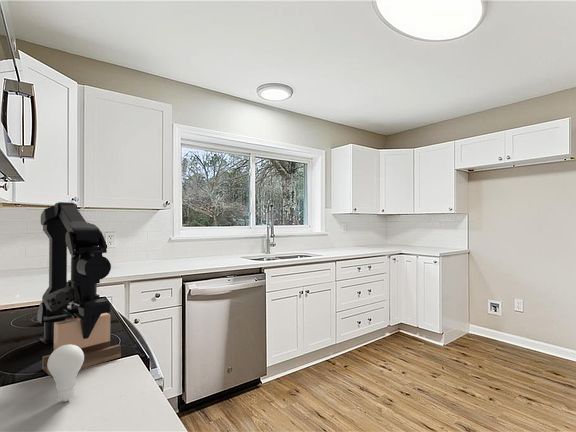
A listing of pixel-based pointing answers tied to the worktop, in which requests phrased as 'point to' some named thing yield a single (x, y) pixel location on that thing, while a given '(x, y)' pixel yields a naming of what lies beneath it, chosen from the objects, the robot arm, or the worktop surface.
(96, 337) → the tan rectangular block
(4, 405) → the worktop surface
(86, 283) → the robot arm
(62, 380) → the lightbulb
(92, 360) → the track
